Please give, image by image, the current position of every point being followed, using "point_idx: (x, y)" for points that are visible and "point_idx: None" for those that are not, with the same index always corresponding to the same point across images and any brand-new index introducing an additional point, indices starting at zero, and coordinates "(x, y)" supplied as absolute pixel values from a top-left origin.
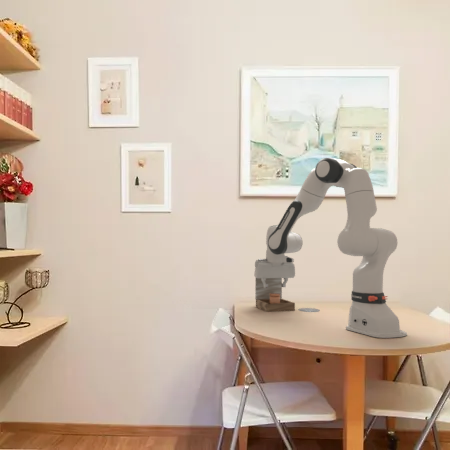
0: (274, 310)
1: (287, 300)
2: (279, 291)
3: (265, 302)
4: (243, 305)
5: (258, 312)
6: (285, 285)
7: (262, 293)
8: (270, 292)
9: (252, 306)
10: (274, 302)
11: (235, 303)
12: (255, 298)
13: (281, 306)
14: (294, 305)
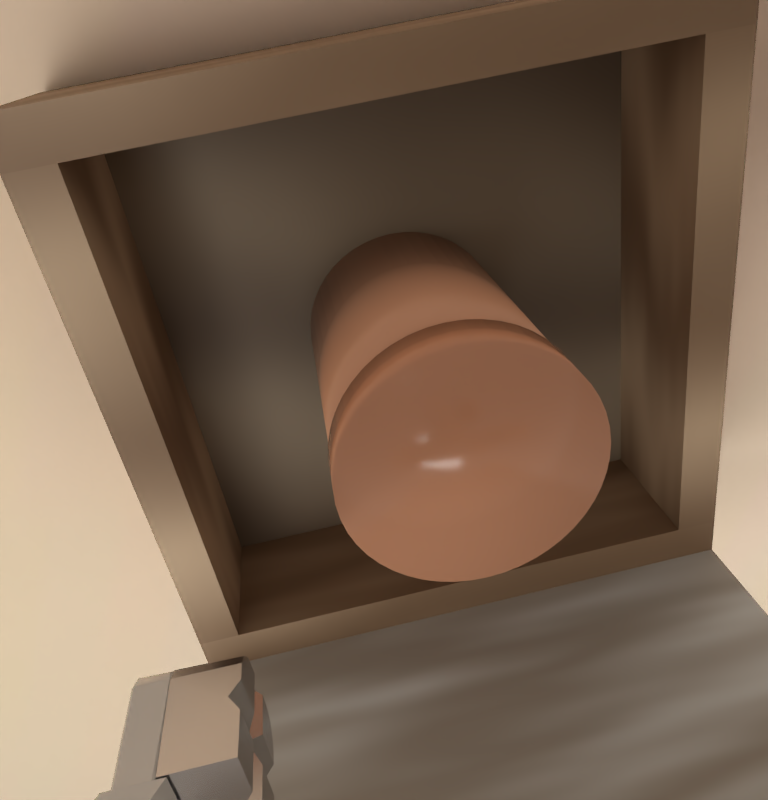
0: (514, 3)
1: (129, 473)
2: None
3: None
4: None
5: (759, 99)
6: (133, 721)
7: (638, 661)
8: (466, 719)
9: None
10: (473, 277)
11: None
12: (720, 573)
13: (363, 34)
14: (6, 105)
